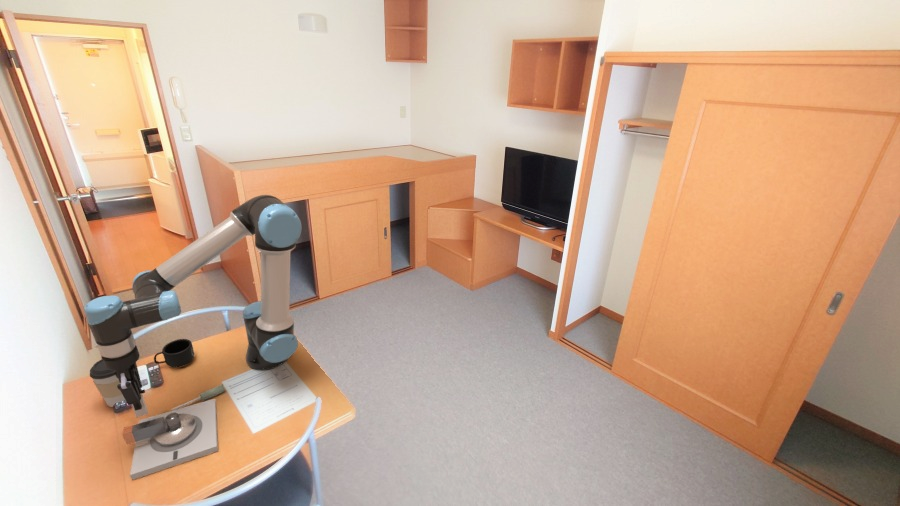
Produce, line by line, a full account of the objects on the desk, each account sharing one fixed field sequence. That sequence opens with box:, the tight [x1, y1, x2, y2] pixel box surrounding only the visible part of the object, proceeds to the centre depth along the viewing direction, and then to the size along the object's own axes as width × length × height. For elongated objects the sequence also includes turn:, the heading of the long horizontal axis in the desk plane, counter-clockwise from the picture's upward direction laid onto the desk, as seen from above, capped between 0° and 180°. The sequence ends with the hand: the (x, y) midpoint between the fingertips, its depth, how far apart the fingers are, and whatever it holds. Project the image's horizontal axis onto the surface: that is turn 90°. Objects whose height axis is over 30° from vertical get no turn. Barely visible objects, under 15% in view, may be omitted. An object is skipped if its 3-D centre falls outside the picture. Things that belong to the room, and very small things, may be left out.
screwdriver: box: [171, 383, 226, 411], centre depth 131 cm, size 15×3×3 cm
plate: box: [129, 398, 219, 481], centre depth 118 cm, size 20×20×2 cm
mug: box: [153, 338, 195, 369], centre depth 145 cm, size 12×9×7 cm
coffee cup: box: [89, 358, 125, 408], centre depth 127 cm, size 9×9×15 cm
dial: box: [122, 413, 196, 446], centre depth 115 cm, size 16×10×6 cm, turn 119°
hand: (142, 414), depth 118 cm, fingers closed
